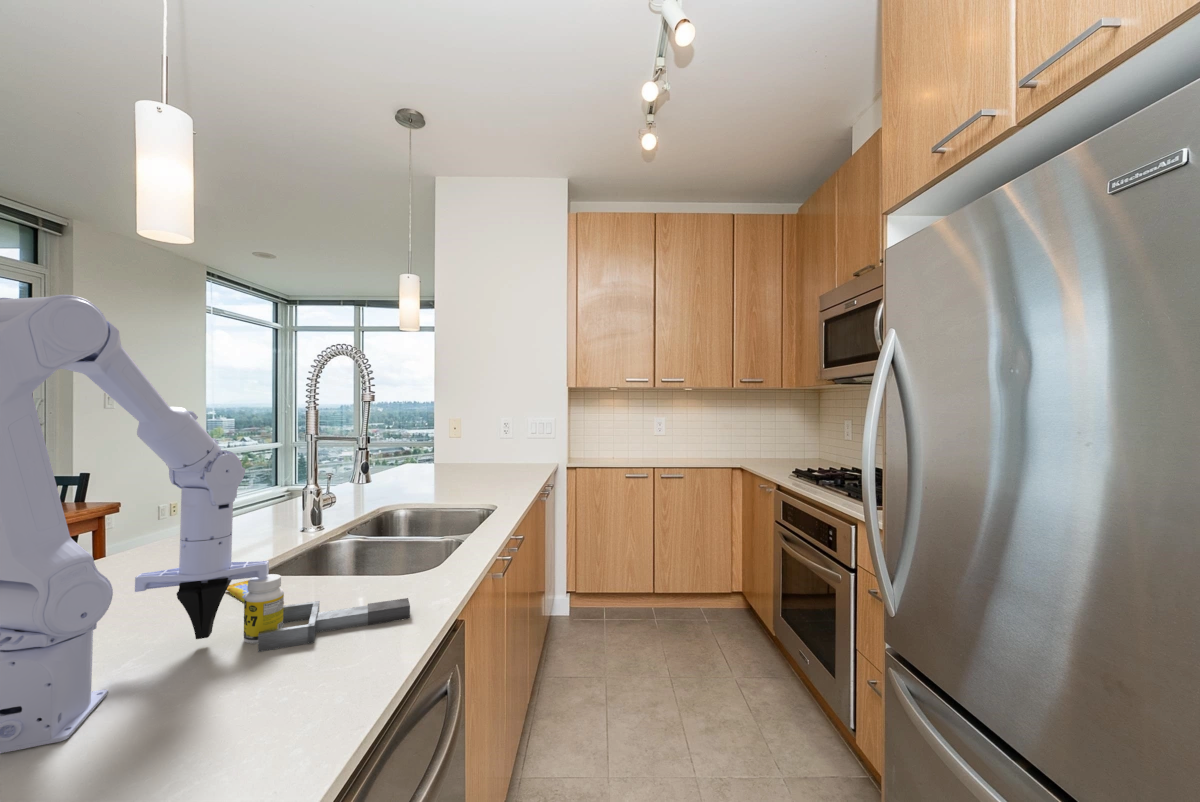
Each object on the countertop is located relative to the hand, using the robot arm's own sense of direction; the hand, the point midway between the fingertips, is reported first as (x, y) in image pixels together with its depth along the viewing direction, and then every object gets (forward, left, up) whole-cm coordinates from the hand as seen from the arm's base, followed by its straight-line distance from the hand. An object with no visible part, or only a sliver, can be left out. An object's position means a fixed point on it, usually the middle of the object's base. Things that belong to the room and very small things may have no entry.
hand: (203, 635), depth 70 cm
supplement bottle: (0, -7, -2) cm, 7 cm away
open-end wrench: (0, -17, -1) cm, 17 cm away
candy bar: (+18, -3, -2) cm, 19 cm away
